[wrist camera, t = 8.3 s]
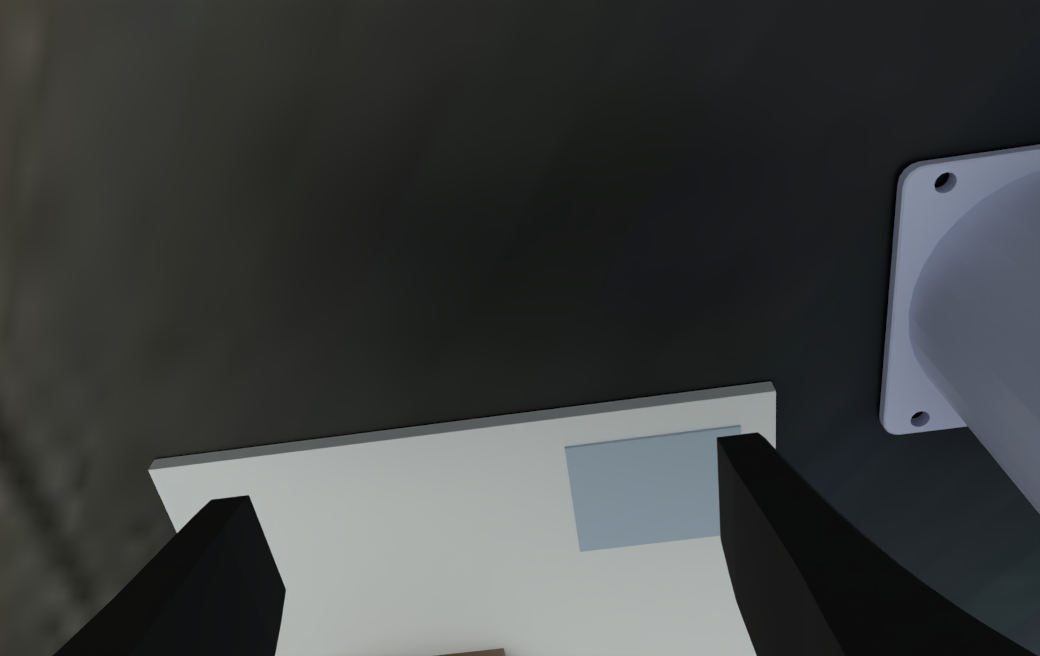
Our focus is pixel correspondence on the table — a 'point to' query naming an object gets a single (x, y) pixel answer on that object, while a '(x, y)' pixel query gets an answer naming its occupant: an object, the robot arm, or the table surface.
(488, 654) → the walnut block
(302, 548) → the board
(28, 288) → the table surface
